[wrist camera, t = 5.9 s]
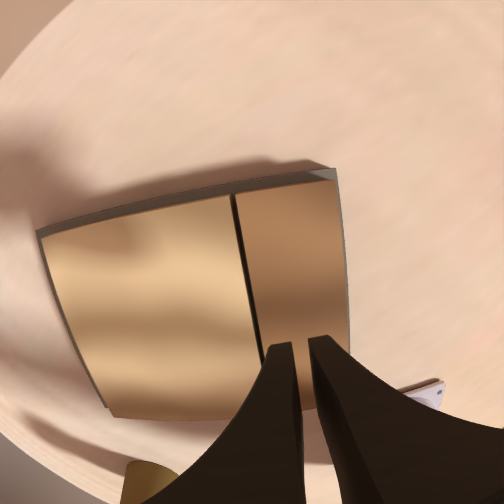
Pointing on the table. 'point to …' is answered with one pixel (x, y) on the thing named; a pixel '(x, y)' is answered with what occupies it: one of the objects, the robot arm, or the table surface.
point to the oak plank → (161, 309)
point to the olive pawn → (144, 481)
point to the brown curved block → (296, 268)
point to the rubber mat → (187, 197)
